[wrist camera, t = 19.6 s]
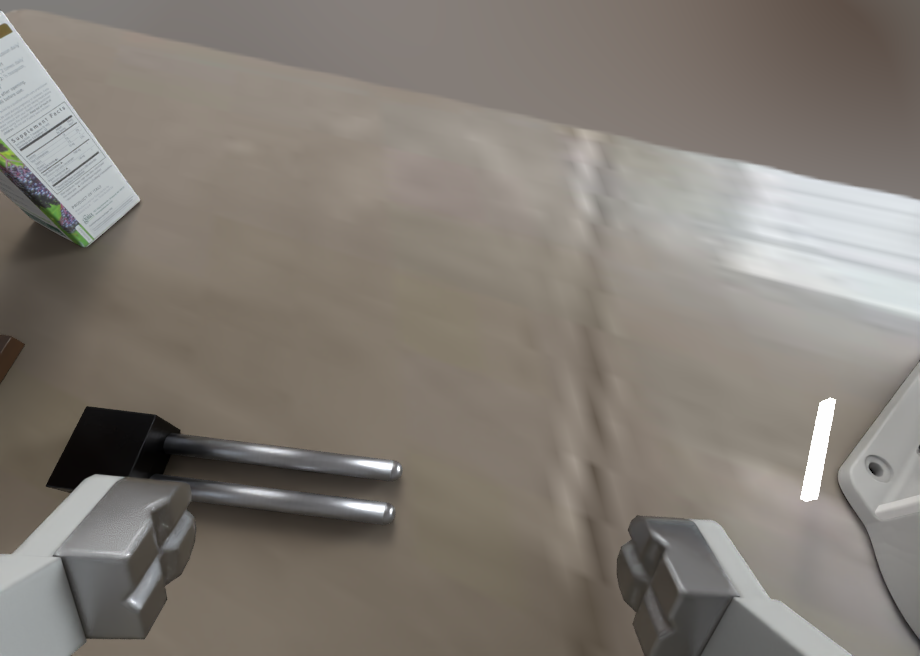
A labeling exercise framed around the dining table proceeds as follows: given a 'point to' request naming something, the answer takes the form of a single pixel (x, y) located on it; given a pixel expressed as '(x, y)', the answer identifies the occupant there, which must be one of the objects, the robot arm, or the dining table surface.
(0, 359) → the stand
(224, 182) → the dining table surface
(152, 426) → the twin chrome rods
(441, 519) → the dining table surface
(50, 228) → the syrup box
